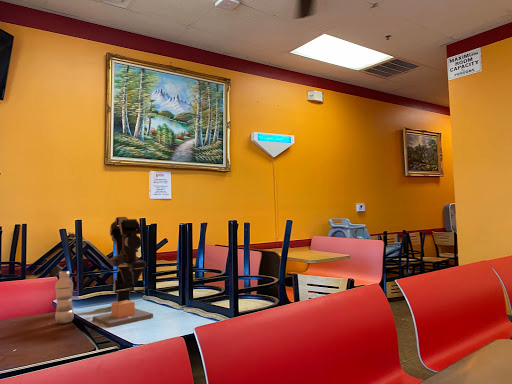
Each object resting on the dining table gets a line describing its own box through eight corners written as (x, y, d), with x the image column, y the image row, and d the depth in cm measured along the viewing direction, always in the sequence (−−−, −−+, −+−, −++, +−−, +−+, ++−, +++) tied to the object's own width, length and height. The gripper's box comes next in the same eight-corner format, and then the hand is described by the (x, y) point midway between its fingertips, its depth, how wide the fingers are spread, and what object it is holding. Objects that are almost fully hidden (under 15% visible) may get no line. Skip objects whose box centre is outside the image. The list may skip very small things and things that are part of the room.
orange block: (111, 315, 156) (111, 302, 156) (127, 312, 160) (127, 299, 161) (118, 318, 151) (118, 304, 151) (134, 314, 156) (134, 301, 156)
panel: (92, 320, 155) (92, 306, 155) (134, 311, 168) (134, 299, 168) (109, 327, 144) (109, 312, 144) (153, 317, 156) (152, 304, 157)
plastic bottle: (68, 324, 149) (68, 272, 150) (51, 325, 149) (51, 273, 151) (76, 320, 156) (76, 270, 157) (60, 321, 156) (60, 270, 157)
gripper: (102, 248, 171) (102, 284, 170) (121, 249, 158) (121, 288, 157) (126, 246, 179) (126, 280, 178) (146, 247, 166) (146, 284, 165)
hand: (129, 283), depth 169 cm, fingers open, 9 cm apart
